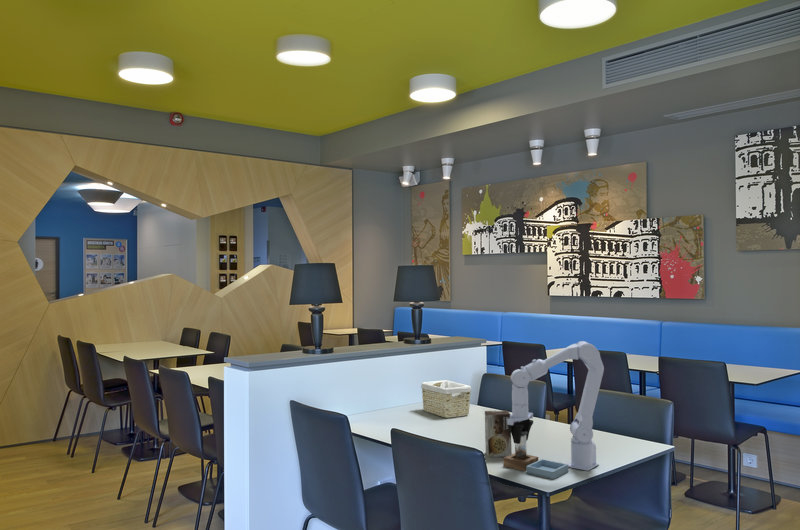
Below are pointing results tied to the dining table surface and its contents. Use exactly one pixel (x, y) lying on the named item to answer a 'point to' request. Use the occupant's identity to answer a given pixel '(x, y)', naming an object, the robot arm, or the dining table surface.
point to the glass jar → (521, 445)
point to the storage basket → (446, 398)
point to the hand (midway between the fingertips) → (520, 441)
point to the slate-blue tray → (547, 469)
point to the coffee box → (497, 434)
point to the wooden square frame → (519, 461)
